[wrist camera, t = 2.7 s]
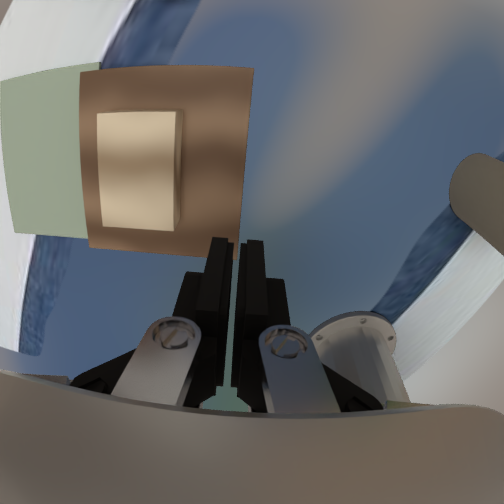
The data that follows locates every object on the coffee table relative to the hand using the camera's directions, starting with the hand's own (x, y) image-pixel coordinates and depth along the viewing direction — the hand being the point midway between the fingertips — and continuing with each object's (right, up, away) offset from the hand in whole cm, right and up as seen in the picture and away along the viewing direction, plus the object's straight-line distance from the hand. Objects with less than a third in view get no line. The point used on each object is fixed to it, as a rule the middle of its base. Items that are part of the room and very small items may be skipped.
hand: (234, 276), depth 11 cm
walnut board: (-7, +10, +16) cm, 20 cm away
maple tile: (-8, +8, +13) cm, 17 cm away
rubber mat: (-20, +11, +16) cm, 28 cm away
